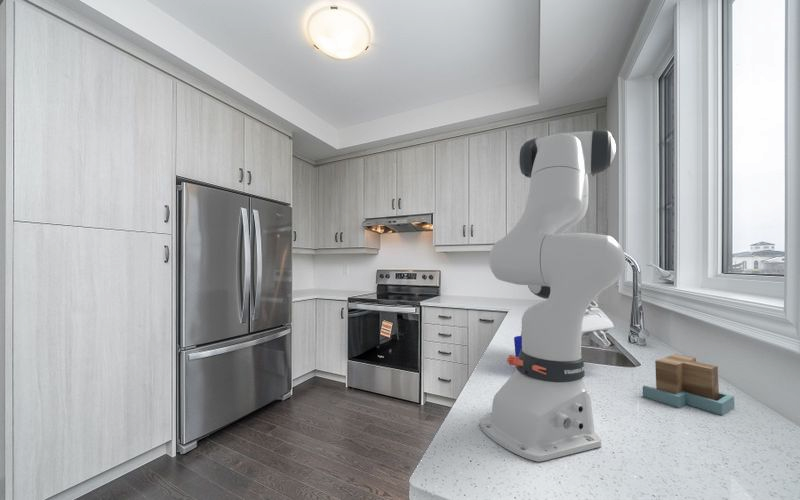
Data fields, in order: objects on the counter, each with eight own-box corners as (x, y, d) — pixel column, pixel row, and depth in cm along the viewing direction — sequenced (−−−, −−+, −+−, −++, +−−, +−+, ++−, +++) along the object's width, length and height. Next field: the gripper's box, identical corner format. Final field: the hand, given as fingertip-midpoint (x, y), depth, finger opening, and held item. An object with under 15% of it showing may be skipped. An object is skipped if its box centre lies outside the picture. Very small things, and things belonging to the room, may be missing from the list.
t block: (706, 413, 67) (704, 371, 67) (656, 397, 75) (655, 360, 75) (725, 401, 73) (723, 363, 73) (677, 388, 81) (675, 353, 81)
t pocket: (715, 419, 64) (715, 407, 64) (642, 396, 75) (642, 386, 76) (740, 403, 72) (739, 392, 72) (670, 384, 83) (670, 374, 83)
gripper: (560, 304, 92) (594, 344, 83) (597, 301, 102) (632, 336, 93) (547, 316, 96) (578, 356, 87) (584, 313, 106) (616, 348, 97)
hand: (606, 346), depth 90 cm, fingers closed
